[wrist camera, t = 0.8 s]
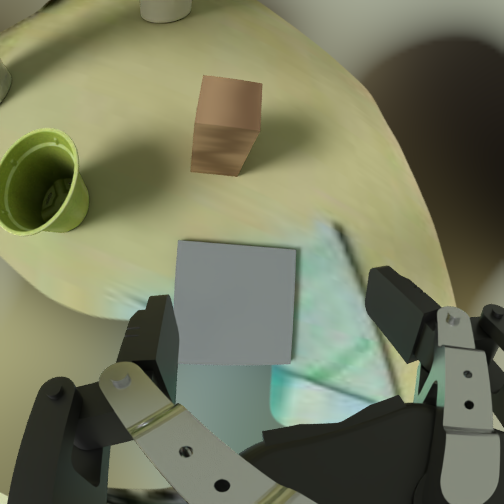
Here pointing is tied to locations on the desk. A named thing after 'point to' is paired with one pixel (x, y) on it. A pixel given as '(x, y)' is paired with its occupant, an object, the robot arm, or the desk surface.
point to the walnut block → (225, 125)
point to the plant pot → (41, 184)
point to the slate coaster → (234, 304)
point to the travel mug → (164, 10)
